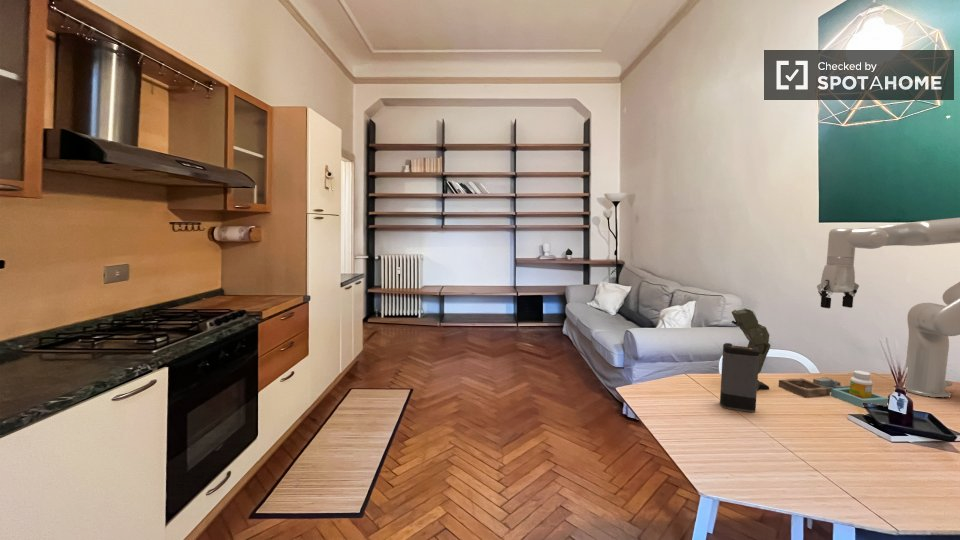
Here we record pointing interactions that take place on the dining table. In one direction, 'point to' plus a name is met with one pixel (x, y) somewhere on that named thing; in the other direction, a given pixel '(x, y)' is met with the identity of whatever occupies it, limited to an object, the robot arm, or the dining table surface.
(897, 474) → the dining table surface
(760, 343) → the mechanical leg
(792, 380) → the socket block
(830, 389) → the guide
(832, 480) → the dining table surface
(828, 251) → the robot arm
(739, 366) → the electronic device
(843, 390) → the green square tray
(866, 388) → the supplement bottle
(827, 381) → the grey stepped block
